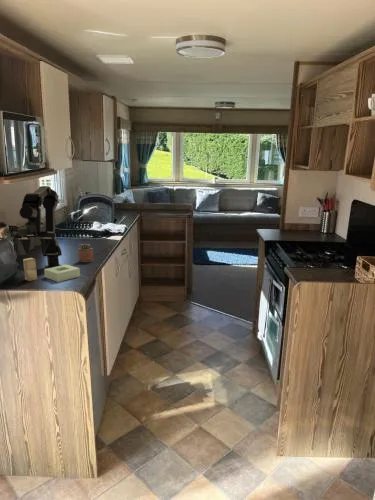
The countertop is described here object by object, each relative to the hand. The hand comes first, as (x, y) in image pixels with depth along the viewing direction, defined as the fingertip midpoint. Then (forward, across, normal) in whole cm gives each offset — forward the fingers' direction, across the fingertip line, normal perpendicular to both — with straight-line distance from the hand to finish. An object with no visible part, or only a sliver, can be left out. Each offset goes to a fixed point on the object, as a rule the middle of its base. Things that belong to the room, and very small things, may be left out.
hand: (35, 253), depth 178 cm
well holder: (+12, +6, +12) cm, 18 cm away
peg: (+12, -6, +4) cm, 14 cm away
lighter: (+6, -1, +41) cm, 42 cm away
